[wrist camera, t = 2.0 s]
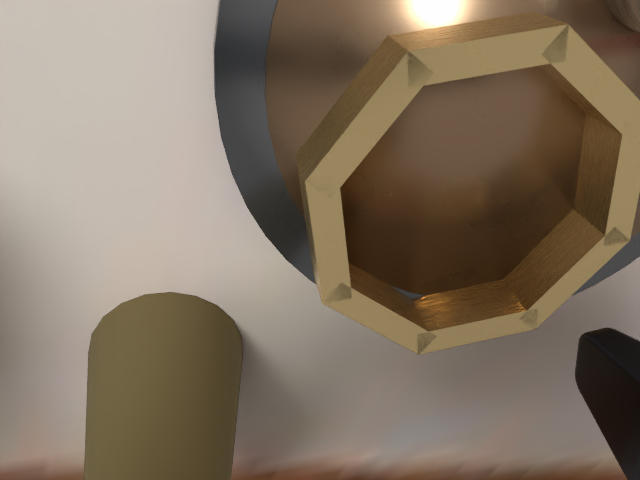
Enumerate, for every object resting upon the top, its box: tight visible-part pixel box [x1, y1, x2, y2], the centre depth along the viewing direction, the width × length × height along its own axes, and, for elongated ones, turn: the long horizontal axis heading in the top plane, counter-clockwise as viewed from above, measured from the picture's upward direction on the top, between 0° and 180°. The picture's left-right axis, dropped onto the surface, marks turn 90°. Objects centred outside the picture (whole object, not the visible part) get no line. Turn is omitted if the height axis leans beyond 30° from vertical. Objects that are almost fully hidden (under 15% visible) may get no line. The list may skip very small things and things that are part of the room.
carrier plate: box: [214, 0, 640, 355], centre depth 18 cm, size 20×20×4 cm
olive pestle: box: [84, 292, 243, 480], centre depth 19 cm, size 6×6×11 cm
